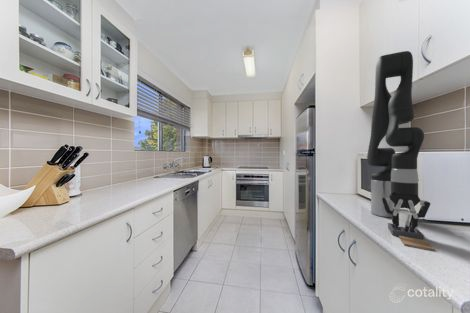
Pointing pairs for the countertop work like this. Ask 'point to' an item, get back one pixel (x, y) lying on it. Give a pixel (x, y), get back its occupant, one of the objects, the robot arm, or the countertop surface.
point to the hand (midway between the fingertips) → (404, 226)
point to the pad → (416, 243)
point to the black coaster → (416, 234)
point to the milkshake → (404, 220)
